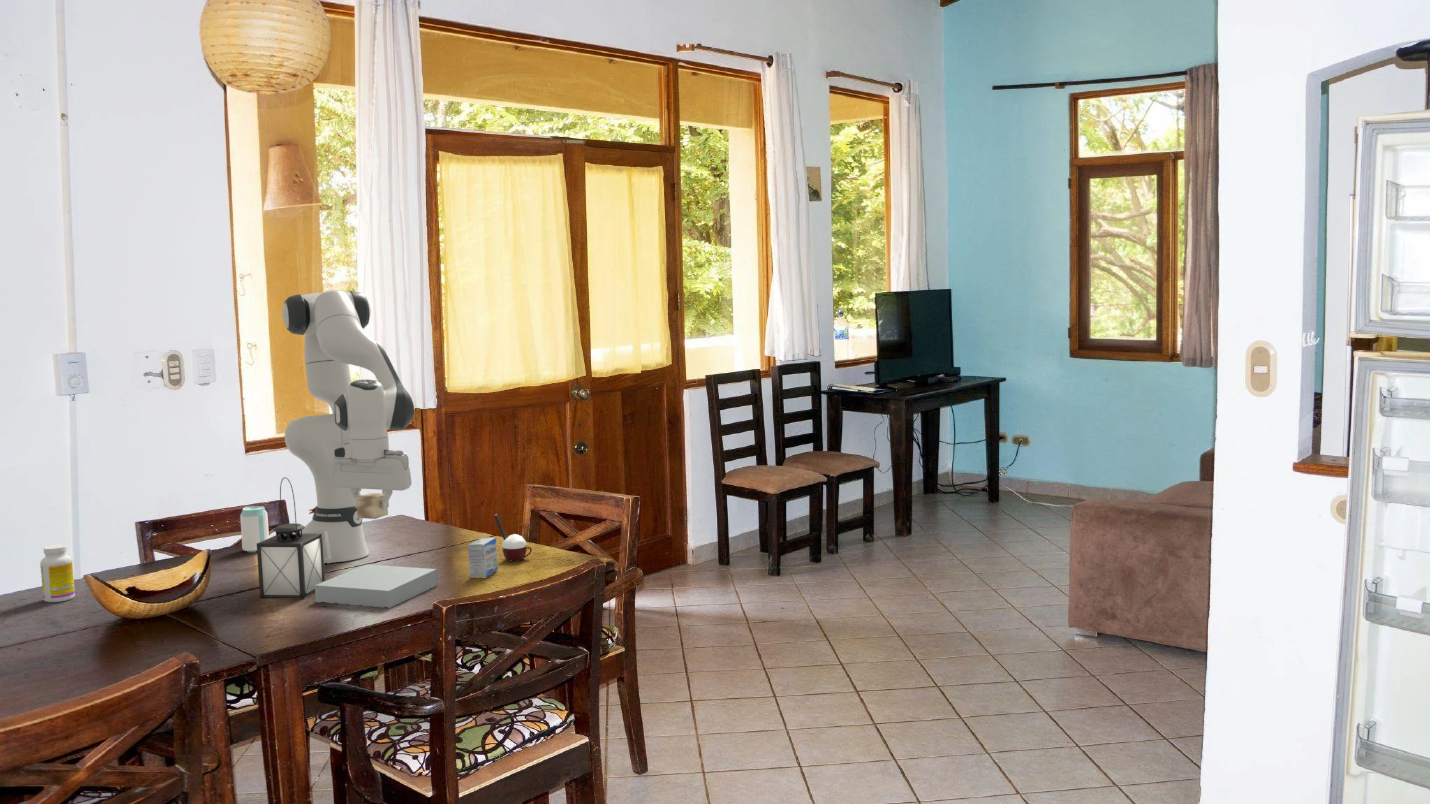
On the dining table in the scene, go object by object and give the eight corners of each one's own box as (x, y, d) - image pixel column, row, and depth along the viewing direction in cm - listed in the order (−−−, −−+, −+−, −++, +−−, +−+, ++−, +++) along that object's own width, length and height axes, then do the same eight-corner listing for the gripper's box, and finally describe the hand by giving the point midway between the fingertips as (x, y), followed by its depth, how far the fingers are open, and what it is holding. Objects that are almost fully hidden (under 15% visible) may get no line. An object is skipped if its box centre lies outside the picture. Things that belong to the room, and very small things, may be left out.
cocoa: (534, 560, 306) (535, 515, 305) (520, 564, 301) (520, 519, 300) (505, 555, 311) (506, 511, 309) (491, 559, 305) (491, 514, 304)
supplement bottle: (81, 596, 278) (77, 544, 277) (58, 604, 272) (53, 550, 270) (60, 594, 280) (56, 542, 279) (36, 602, 274) (32, 549, 273)
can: (237, 550, 323) (235, 508, 321) (261, 546, 328) (258, 504, 327) (250, 554, 318) (247, 511, 317) (274, 549, 323) (271, 507, 322)
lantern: (282, 586, 284) (274, 473, 281) (326, 586, 282) (318, 473, 279) (259, 599, 273) (251, 482, 270) (304, 599, 271) (296, 481, 268)
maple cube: (357, 517, 271) (356, 497, 271) (370, 513, 276) (369, 493, 275) (375, 519, 270) (374, 497, 269) (388, 514, 274) (387, 493, 274)
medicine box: (486, 579, 286) (484, 544, 285) (469, 578, 287) (467, 544, 286) (498, 570, 294) (496, 537, 293) (481, 570, 295) (480, 537, 294)
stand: (315, 602, 268) (314, 585, 268) (367, 580, 287) (366, 564, 287) (389, 608, 262) (388, 590, 262) (437, 585, 281) (436, 569, 281)
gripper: (415, 448, 271) (418, 506, 272) (341, 446, 277) (344, 502, 279) (399, 452, 265) (402, 512, 266) (324, 450, 271) (328, 507, 273)
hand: (372, 507), depth 272 cm, fingers closed on maple cube, 5 cm apart
